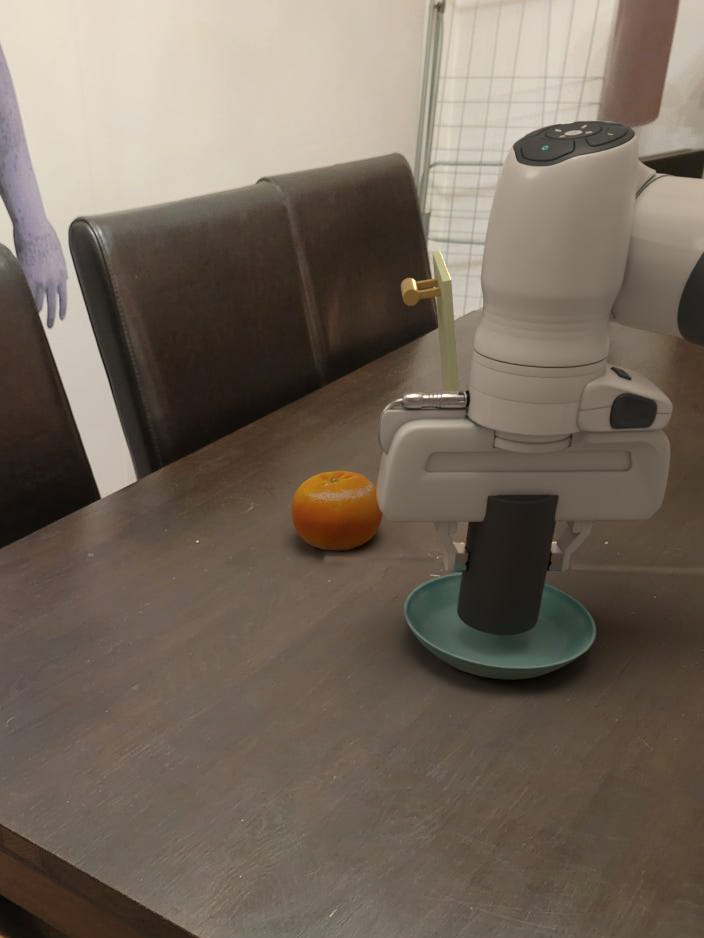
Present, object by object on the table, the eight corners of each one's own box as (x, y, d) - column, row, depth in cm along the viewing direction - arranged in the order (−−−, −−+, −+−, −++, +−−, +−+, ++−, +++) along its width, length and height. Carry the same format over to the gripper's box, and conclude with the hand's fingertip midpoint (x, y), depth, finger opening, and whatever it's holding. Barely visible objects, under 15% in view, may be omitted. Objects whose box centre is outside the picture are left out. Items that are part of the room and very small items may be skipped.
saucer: (566, 718, 68) (573, 688, 67) (373, 664, 75) (375, 636, 73) (606, 622, 79) (613, 595, 78) (435, 583, 85) (438, 556, 84)
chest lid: (440, 250, 99) (397, 258, 99) (451, 279, 87) (402, 287, 88) (450, 395, 106) (410, 401, 107) (462, 439, 95) (417, 445, 96)
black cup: (526, 594, 78) (549, 467, 72) (547, 635, 73) (572, 502, 67) (450, 595, 78) (466, 468, 72) (465, 635, 73) (483, 502, 67)
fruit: (317, 479, 97) (327, 433, 89) (389, 522, 95) (406, 479, 88) (271, 539, 94) (278, 497, 87) (345, 584, 92) (359, 545, 85)
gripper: (386, 408, 63) (373, 589, 71) (698, 404, 63) (651, 587, 70) (375, 378, 69) (364, 550, 76) (663, 375, 68) (623, 548, 76)
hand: (504, 568), depth 73 cm, fingers closed on black cup, 6 cm apart
